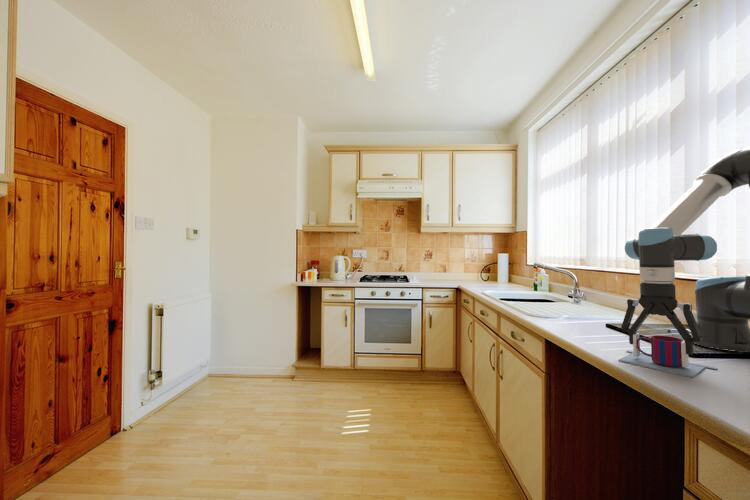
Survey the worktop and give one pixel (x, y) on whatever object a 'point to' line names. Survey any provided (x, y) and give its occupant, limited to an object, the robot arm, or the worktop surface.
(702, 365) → the line strip
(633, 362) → the mat
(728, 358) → the worktop surface
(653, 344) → the mug
